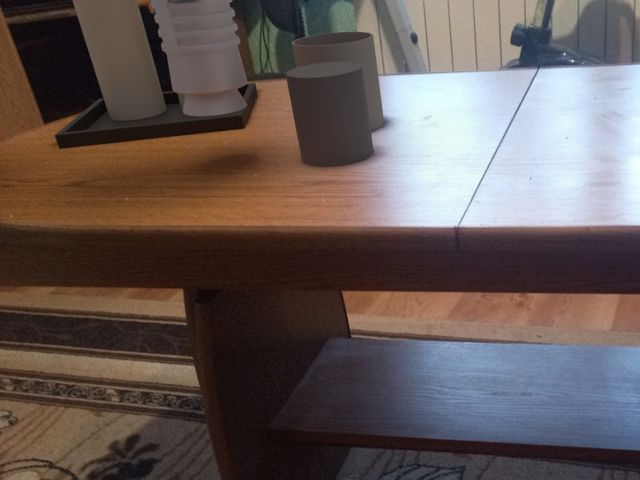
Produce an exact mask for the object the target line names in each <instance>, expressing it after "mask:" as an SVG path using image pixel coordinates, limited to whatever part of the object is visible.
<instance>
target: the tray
mask: <svg viewBox="0 0 640 480" xmlns="http://www.w3.org/2000/svg"><path fill="white" fill-rule="evenodd" d="M237 90H238V91H239V93H240V94H241V96H242V97H243V99H244V101H245V102H246V104H247V106H246V107H245V108H244V109H242V110H239V111H236V112H232V113H227V114H222V115H214V116H190V115H186V114H184V113H183V111H182V109H181V105H180V101H179V98H178V94H177V93H176V92H174V91H173V90H170V91H162V94H163V97H164V101H165V104H166V108H167V111H166V112H164V113H162V114H160V115H157V116H154V117H150V118H145V119H140V120H132V121H115V120H111V119H110V117H109V114H108V110H107V107H106V104H105V101H104V98H102V97H101V98H98V99H97V100H96V101H94V102H93V103H92V104H91V105H90V106H88V107H86V109H85V110H83V111H82V112H81V113H80V114H79V115H77V116H76V117H75V118H74V119H72V120H71V121H70V122H69V123H68V124H66V125H65V126H63V127H62V128H61V129H60V130H59V131H58V132H56V133H55V134H54V139H55V140H56V144H57V146H58V148H59V149H70V148H71V149H72V148H79V147H88V146H97V145H98V146H99V145H106V144H107V145H108V144H117V143H127V142H135V141H144V140H152V139H163V138H170V137H180V136H190V135H200V134H209V133H218V132H226V131H237V130H244V129H245V128H246V127H247V123H248V121H249V118H250V115H251V113H252V111H253V108H254V105H255V103H256V100H257V97H258V95H259V94H258V90H257V84H256V82H250V83H246V85H245V86H243V87H241V88H238V89H237Z"/></svg>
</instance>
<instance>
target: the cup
mask: <svg viewBox="0 0 640 480" xmlns="http://www.w3.org/2000/svg"><path fill="white" fill-rule="evenodd" d="M291 46H292V50H293V56H294V62H295V66H296V67H295V68H297V67H301V66H305V65H310V64H317V63H326V62H355V63H359V64H361V65H362V68H363V75H364V83H365V90H366V98H367V105H368V112H369V120H370V127H371V132H373V131H375V130H377V129H380V128H381V127H383V125H384V124H385V118H384V117H385V116H384V110H383V101H382V95H381V86H380V78H379V70H378V69H379V68H378V61H377V55H376V46H375V39H374V34H373V33H371V32H365V31H339V32H327V33H320V34H314V35H308V36H305V37H304V36H303V37H301V38H297V39H295V40H293V41H291Z"/></svg>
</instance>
